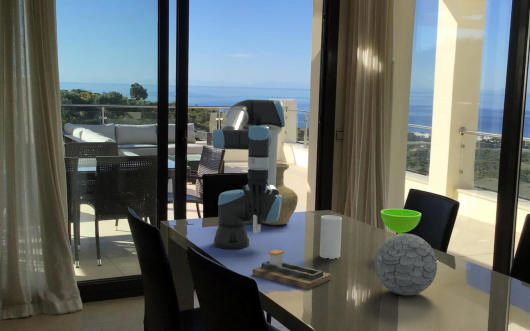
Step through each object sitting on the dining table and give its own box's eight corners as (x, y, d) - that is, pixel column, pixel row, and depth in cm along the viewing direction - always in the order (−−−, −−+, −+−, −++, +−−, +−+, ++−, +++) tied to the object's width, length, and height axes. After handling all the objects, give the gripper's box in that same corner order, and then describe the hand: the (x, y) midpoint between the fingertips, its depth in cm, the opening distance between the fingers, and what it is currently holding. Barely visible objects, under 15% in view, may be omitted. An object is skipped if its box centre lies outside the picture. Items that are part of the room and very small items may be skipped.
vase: (297, 229, 281) (299, 167, 277) (251, 228, 281) (252, 166, 278) (296, 219, 303) (297, 162, 300) (252, 218, 304) (254, 161, 300)
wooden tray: (252, 274, 208) (252, 264, 208) (275, 266, 219) (276, 256, 219) (309, 289, 194) (309, 278, 193) (330, 279, 205) (331, 269, 204)
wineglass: (392, 249, 249) (394, 207, 247) (426, 256, 237) (428, 213, 235) (370, 255, 238) (372, 212, 235) (404, 264, 226) (407, 218, 224)
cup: (339, 259, 230) (341, 219, 228) (318, 258, 232) (320, 218, 230) (340, 254, 238) (342, 215, 236) (320, 252, 240) (322, 214, 238)
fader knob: (267, 267, 209) (268, 252, 209) (275, 264, 213) (276, 249, 213) (275, 269, 207) (276, 253, 207) (283, 266, 211) (283, 251, 211)
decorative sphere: (397, 307, 179) (400, 243, 176) (361, 287, 197) (364, 229, 194) (448, 300, 187) (452, 238, 184) (409, 281, 205) (412, 225, 202)
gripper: (237, 167, 213) (236, 231, 215) (266, 170, 205) (264, 236, 207) (250, 166, 218) (249, 228, 221) (278, 169, 211) (277, 233, 213)
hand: (256, 232), depth 214 cm, fingers closed
